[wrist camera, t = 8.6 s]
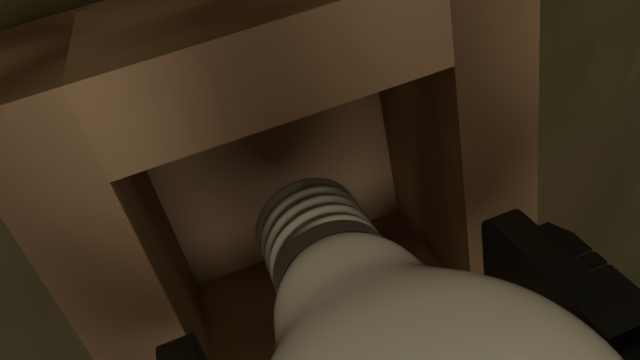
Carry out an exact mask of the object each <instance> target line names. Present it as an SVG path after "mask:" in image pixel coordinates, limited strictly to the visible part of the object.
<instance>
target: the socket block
mask: <svg viewBox="0 0 640 360" xmlns="http://www.w3.org/2000/svg"><path fill="white" fill-rule="evenodd" d="M539 67H540V0H102V1H99V2H95V3H92V4H88V5H85V6H82V7H78V8H75V9H71V10H68V11H64V12H61V13H57V14H54V15H50V16H47V17H44V18H40V19H37V20H33V21H30V22H26V23H23V24H19V25H16V26H12V27H9V28H5V29H2V30H0V218H1V219H2V221H3V222H4V224H5V225H6V227H7V228H8V230H9V231H10V233H11V234H12V236H13V237H14V239H15V240H16V242H17V243H18V245H19V247H20V248H21V250H22V251H23V253H24V254H25V256H26V257H27V259H28V260H29V262H30V263H31V265H32V266H33V268H34V269H35V271H36V272H37V274H38V275H39V277H40V278H41V280H42V282H43V283H44V285H45V286H46V288H47V289H48V291H49V292H50V294H51V295H52V297H53V298H54V300H55V301H56V303H57V304H58V306H59V307H60V309H61V310H62V312H63V313H64V315H65V317H66V318H67V320H68V321H69V323H70V324H71V326H72V327H73V329H74V330H75V332H76V333H77V335H78V336H79V338H80V339H81V341H82V342H83V344H84V345H85V347H86V348H87V350H88V352H89V353H90V355H91V356H92V358H93V359H94V360H156V347H157V346H159V345H161V344H164V343H167V342H169V341H172V340H174V339H177V338H179V337H182V336H185V335H187V334H190V333H194V334H195V336H196V338H197V340H198V342H199V344H200V346H201V348H202V350H203V352H204V354H205V356H206V358H207V360H270V359H271V357H272V355H273V353H274V351H275V333H274V305H275V299H276V295H277V294H276V291H275V288H274V284H273V282H272V280H271V277H270V274H269V271H268V269H267V267H266V264H265V261H264V259H263V256H262V254H261V251H260V249H259V247H258V244H257V240H256V233H255V230H256V223H257V219H258V216H259V214H260V212H261V210H262V208H263V206H264V205H265V203H266V202H267V201H268V200H269V199H270V198H271V197H272V196H273V195H274V194H275V193H276V192H277V191H279V190H280V189H281V188H283V187H285V186H286V185H288V184H290V183H293V182H295V181H298V180H302V179H307V178H325V179H330V180H333V181H335V182H338V183H340V184H341V185H343V186H344V187H345V188H346V189H347V190H348V191H349V192H350V193H351V195H352V196H353V197H354V198H355V200H356V201H357V203H358V205H359V206H360V207H361V208H362V210H363V211H364V213H365V215H366V216H367V217H368V218H369V220H370V221H371V223H372V225H373V226H374V227H375V228H376V230H377V231H378V233H379V234H380V235H381V236H382V237H384V238H386V239H389V240H391V241H393V242H395V243H397V244H398V245H400V246H402V247H403V248H405V249H406V250H407V251H409V252H410V253H411V254H412V255H414V256H415V257H416V258H417V259H419V260H420V261H421V262H422V263H424V264H425V265H427V266H433V267H442V268H450V269H457V270H464V271H470V272H475V273H479V274H484V267H483V250H482V233H481V225H482V222H483V221H484V220H487V219H489V218H492V217H495V216H497V215H500V214H502V213H505V212H508V211H510V210H513V209H519V210H521V211H522V212H523V213H524V214H526V215H527V216H528V217H529V218H530V219H531V220H532V221H533V222H534V223H536V224H537V225H538V151H539Z"/></svg>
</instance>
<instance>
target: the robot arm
mask: <svg viewBox="0 0 640 360" xmlns="http://www.w3.org/2000/svg"><path fill="white" fill-rule="evenodd" d="M481 233H482V250H483V267H484V275H488V276H492V277H495V278H499V279H502V280H505V281H508V282H511V283H514V284H517V285H520V286H522V287H524V288H527V289H529V290H531V291H534V292H536V293H538V294H540V295H542V296H544V297H546V298H548V299H549V300H551V301H553V302H555V303H556V304H558V305H560V306H561V307H563V308H565V309H566V310H568V311H569V312H571V313H572V314H574V315H575V316H576V317H578V318H579V319H580V320H582V321H583V322H584V323H586V324H587V325H588V326H590V327H591V328H592V329H593V330H594V331H595V332H597V333H598V334H599V335H600V336H601V337H602V338H603V339H605V340H606V341H607V342H608V343H609V344H610V345H611V346H612V347H613V348H614V349H615V350H616V351H617V352H618V353H619V354H620V355H621V357H622V358H623V359H624V360H640V289H639V288H638V287H637V286H636V285H635V284H633V283H632V282H631V281H630V280H629V279H627V278H626V277H625V276H624V275H623V274H621V273H620V272H619V271H618V270H617V269H616V268H614V267H613V266H612V265H611V264H610V265H608V264H607V261H606V260H605V259H604V258H602V257H601V256H600V255H599V254H598V253H597V252H593V251H592V248H591V247H589V246H588V245H587V244H586V243H585V242H584V241H582V240H581V239H580V238H579V237H578V236H576V235H575V234H574V233H573V232H570V231H568V230H566V229H563V228H561V227H558V226H556V225H554V224H551V223H549V222H547V223H545V224H542V225H540V226H538V225H537V224H536V223H534V222H533V221H532V220H531V219H530V218H529V217H528V216H527V215H526V214H524V213H523V212H522V211H521V210H519V209H513V210H510V211H508V212H505V213H502V214H500V215H497V216H495V217H492V218H489V219H487V220H484V221H483V222H482V225H481ZM156 360H207V358H206V356H205V354H204V352H203V350H202V348H201V346H200V344H199V342H198V340H197V338H196V336H195V334H194V333H190V334H187V335H185V336H182V337H179V338H177V339H174V340H172V341H169V342H167V343H164V344H161V345H159V346H157V347H156Z"/></svg>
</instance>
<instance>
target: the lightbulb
mask: <svg viewBox="0 0 640 360" xmlns="http://www.w3.org/2000/svg"><path fill="white" fill-rule="evenodd" d="M255 233H256V240H257V244H258V247H259V249H260V251H261V254H262V256H263V259H264V261H265V264H266V267H267V269H268V271H269V274H270V277H271V280H272V282H273V284H274V288H275V291H276V294H277V295H276V299H275V305H274V333H275V351H274V353H273V355H272V357H271V359H270V360H624V359H623V358H622V357H621V355H620V354H619V353H618V352H617V351H616V350H615V349H614V348H613V347H612V346H611V345H610V344H609V343H608V342H607V341H606V340H605V339H603V338H602V337H601V336H600V335H599V334H598V333H597V332H595V331H594V330H593V329H592V328H591V327H590V326H588V325H587V324H586V323H584V322H583V321H582V320H580V319H579V318H578V317H576V316H575V315H574V314H572V313H571V312H569V311H568V310H566V309H565V308H563V307H561V306H560V305H558V304H556V303H555V302H553V301H551V300H549V299H548V298H546V297H544V296H542V295H540V294H538V293H536V292H534V291H531V290H529V289H527V288H524V287H522V286H520V285H517V284H514V283H511V282H508V281H505V280H502V279H499V278H495V277H492V276H488V275H484V274H479V273H475V272H470V271H464V270H457V269H450V268H442V267H433V266H427V265H425V264H424V263H422V262H421V261H420V260H419V259H417V258H416V257H415V256H414V255H412V254H411V253H410V252H409V251H407V250H406V249H405V248H403V247H402V246H400V245H398V244H397V243H395V242H393V241H391V240H389V239H386V238H384V237H382V236H381V235H380V234H379V233H378V231H377V230H376V228H375V227H374V226H373V225H372V223H371V221H370V220H369V218H368V217H367V216H366V215H365V213H364V211H363V210H362V208H361V207H360V206H359V205H358V203H357V201H356V200H355V198H354V197H353V196H352V195H351V193H350V192H349V191H348V190H347V189H346V188H345V187H344V186H343V185H341V184H340V183H338V182H335V181H333V180H330V179H325V178H307V179H302V180H298V181H295V182H293V183H290V184H288V185H286V186H285V187H283V188H281V189H280V190H279V191H277V192H276V193H275V194H274V195H273V196H272V197H271V198H270V199H269V200H268V201H267V202H266V203H265V205H264V206H263V208H262V210H261V212H260V214H259V216H258V219H257V223H256V230H255Z"/></svg>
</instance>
